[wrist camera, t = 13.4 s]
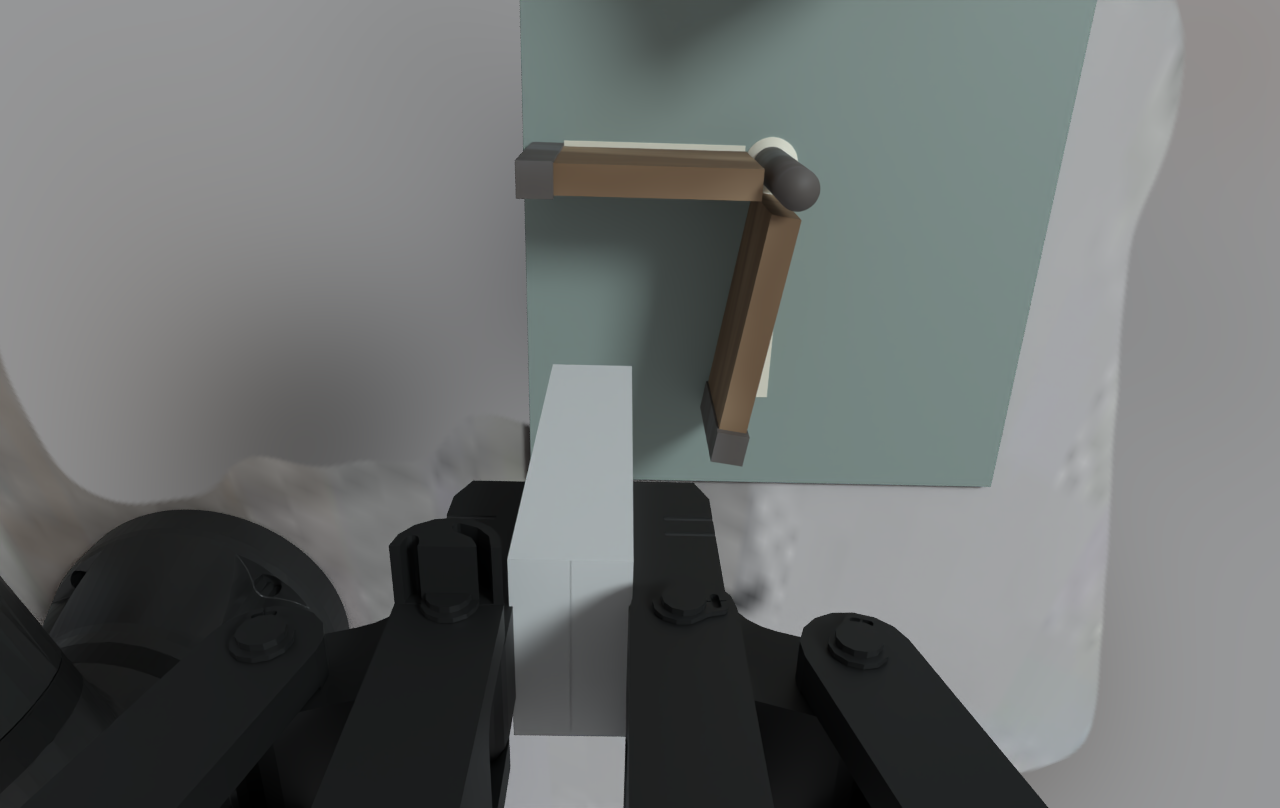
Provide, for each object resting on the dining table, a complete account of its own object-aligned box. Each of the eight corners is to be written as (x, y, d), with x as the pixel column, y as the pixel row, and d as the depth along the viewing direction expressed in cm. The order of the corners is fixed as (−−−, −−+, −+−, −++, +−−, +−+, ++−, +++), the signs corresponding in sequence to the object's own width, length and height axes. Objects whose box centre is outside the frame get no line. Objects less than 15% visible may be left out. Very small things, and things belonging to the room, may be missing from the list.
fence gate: (699, 407, 42) (710, 461, 37) (750, 190, 38) (771, 215, 33) (727, 411, 42) (742, 466, 37) (780, 196, 38) (806, 222, 33)
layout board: (987, 483, 45) (991, 487, 44) (531, 473, 44) (531, 477, 44) (1097, -25, 35) (1103, -26, 35) (520, -45, 35) (518, -46, 34)
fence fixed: (785, 182, 39) (817, 212, 32) (534, 175, 38) (513, 203, 32) (789, 146, 38) (822, 168, 31) (533, 138, 38) (512, 159, 31)
